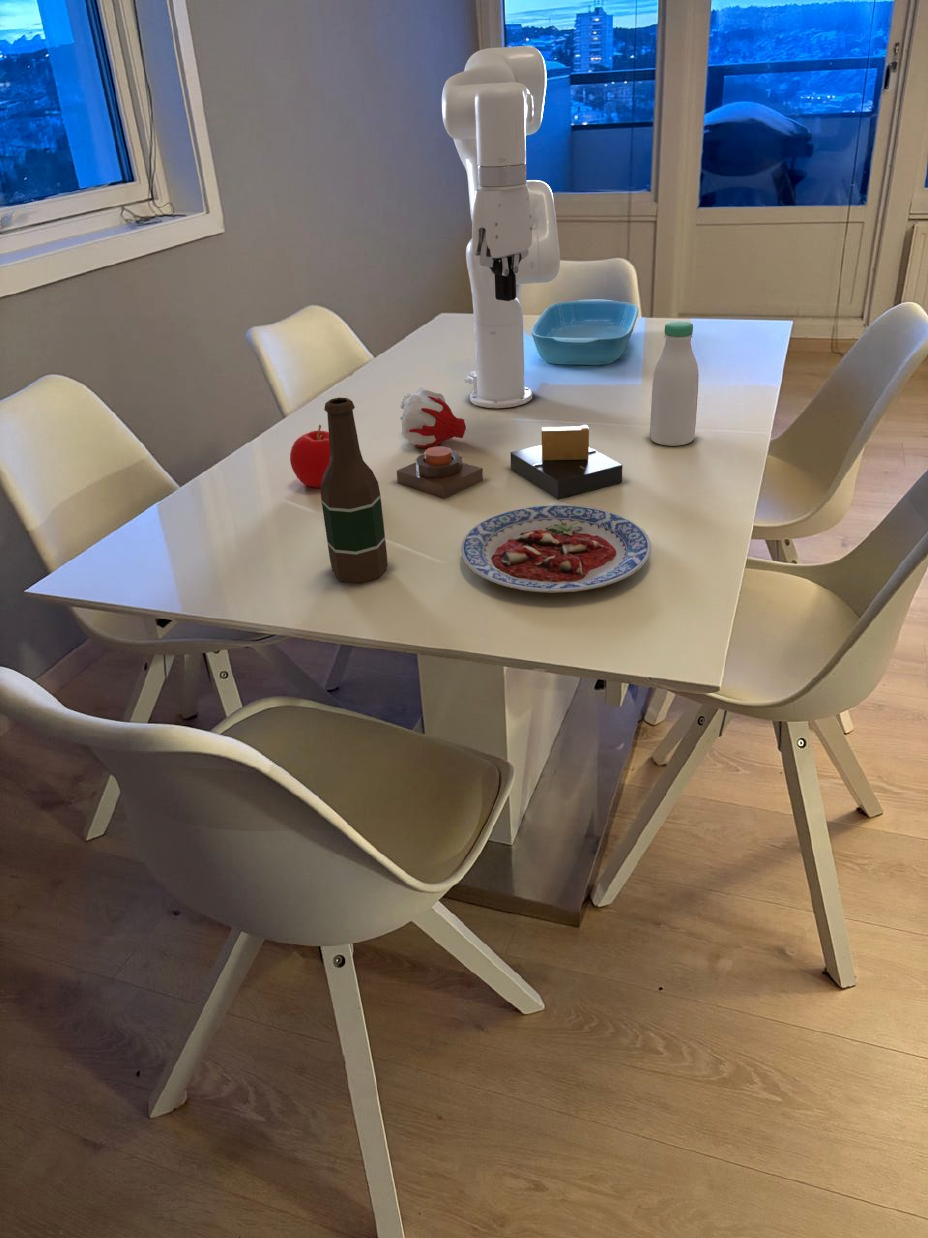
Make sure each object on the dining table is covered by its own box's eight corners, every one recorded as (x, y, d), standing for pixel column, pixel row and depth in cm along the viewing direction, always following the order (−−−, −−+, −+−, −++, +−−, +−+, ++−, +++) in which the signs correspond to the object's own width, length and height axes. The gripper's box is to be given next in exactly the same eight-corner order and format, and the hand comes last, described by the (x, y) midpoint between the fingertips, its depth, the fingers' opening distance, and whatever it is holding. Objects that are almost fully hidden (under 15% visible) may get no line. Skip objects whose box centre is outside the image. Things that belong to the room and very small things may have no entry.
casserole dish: (626, 372, 201) (627, 338, 197) (523, 370, 206) (522, 337, 202) (641, 328, 231) (643, 298, 227) (551, 327, 236) (551, 298, 233)
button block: (397, 482, 155) (395, 460, 153) (435, 466, 161) (434, 443, 159) (445, 498, 149) (443, 475, 147) (483, 480, 154) (482, 457, 152)
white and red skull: (407, 425, 178) (479, 443, 173) (377, 445, 169) (453, 464, 164) (408, 379, 173) (483, 395, 168) (378, 397, 164) (456, 415, 159)
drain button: (419, 462, 153) (418, 452, 152) (438, 454, 156) (437, 444, 155) (438, 468, 150) (438, 458, 149) (457, 459, 153) (457, 449, 152)
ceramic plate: (601, 624, 114) (601, 602, 112) (425, 578, 126) (423, 558, 125) (679, 538, 132) (680, 519, 131) (518, 506, 145) (518, 488, 143)
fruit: (333, 496, 152) (325, 437, 147) (284, 491, 155) (275, 432, 150) (358, 474, 159) (351, 417, 154) (311, 470, 162) (302, 414, 157)
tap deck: (510, 469, 158) (510, 451, 156) (571, 454, 162) (571, 436, 161) (557, 499, 146) (557, 480, 145) (622, 482, 151) (622, 463, 149)
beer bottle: (332, 560, 133) (309, 393, 120) (388, 555, 133) (369, 388, 120) (330, 586, 126) (305, 413, 113) (388, 581, 126) (369, 407, 114)
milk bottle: (694, 447, 162) (703, 329, 151) (648, 446, 163) (654, 329, 153) (694, 431, 168) (702, 317, 158) (650, 430, 170) (656, 317, 159)
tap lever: (541, 460, 152) (541, 429, 149) (541, 456, 154) (541, 425, 151) (588, 459, 152) (589, 428, 149) (588, 455, 153) (588, 424, 150)
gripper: (515, 170, 153) (517, 288, 162) (451, 182, 144) (458, 305, 153) (551, 172, 148) (552, 292, 158) (487, 184, 139) (492, 311, 148)
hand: (505, 298), depth 155 cm, fingers closed
